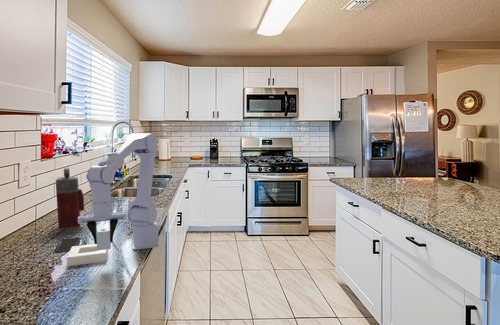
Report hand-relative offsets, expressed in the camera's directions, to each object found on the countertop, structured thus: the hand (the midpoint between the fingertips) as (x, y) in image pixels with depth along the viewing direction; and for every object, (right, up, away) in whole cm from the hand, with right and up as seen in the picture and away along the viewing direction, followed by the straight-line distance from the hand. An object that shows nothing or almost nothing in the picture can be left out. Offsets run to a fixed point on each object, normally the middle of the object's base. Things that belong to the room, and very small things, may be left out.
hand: (103, 242), depth 113 cm
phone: (-24, -7, +23) cm, 34 cm away
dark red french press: (-38, -4, +53) cm, 65 cm away
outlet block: (-9, -8, +9) cm, 15 cm away
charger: (0, -2, 0) cm, 2 cm away
